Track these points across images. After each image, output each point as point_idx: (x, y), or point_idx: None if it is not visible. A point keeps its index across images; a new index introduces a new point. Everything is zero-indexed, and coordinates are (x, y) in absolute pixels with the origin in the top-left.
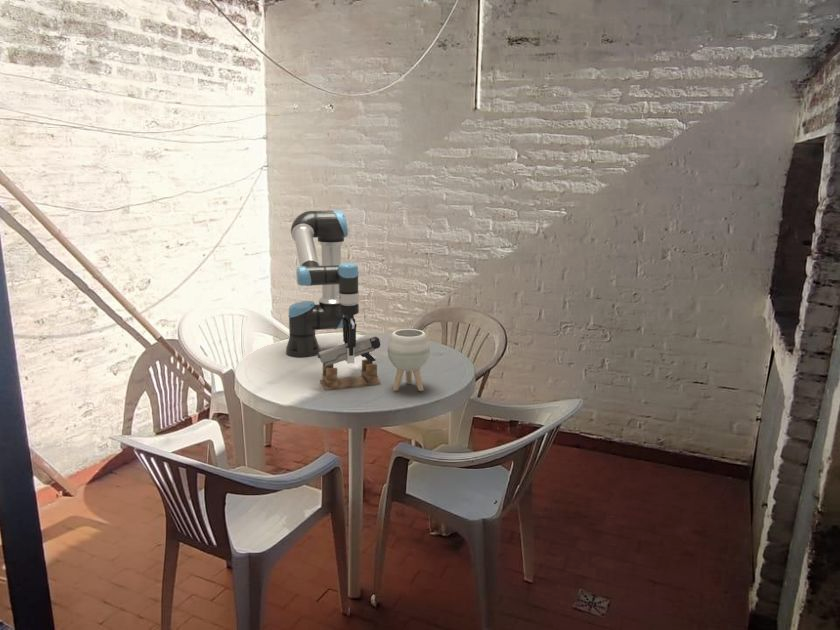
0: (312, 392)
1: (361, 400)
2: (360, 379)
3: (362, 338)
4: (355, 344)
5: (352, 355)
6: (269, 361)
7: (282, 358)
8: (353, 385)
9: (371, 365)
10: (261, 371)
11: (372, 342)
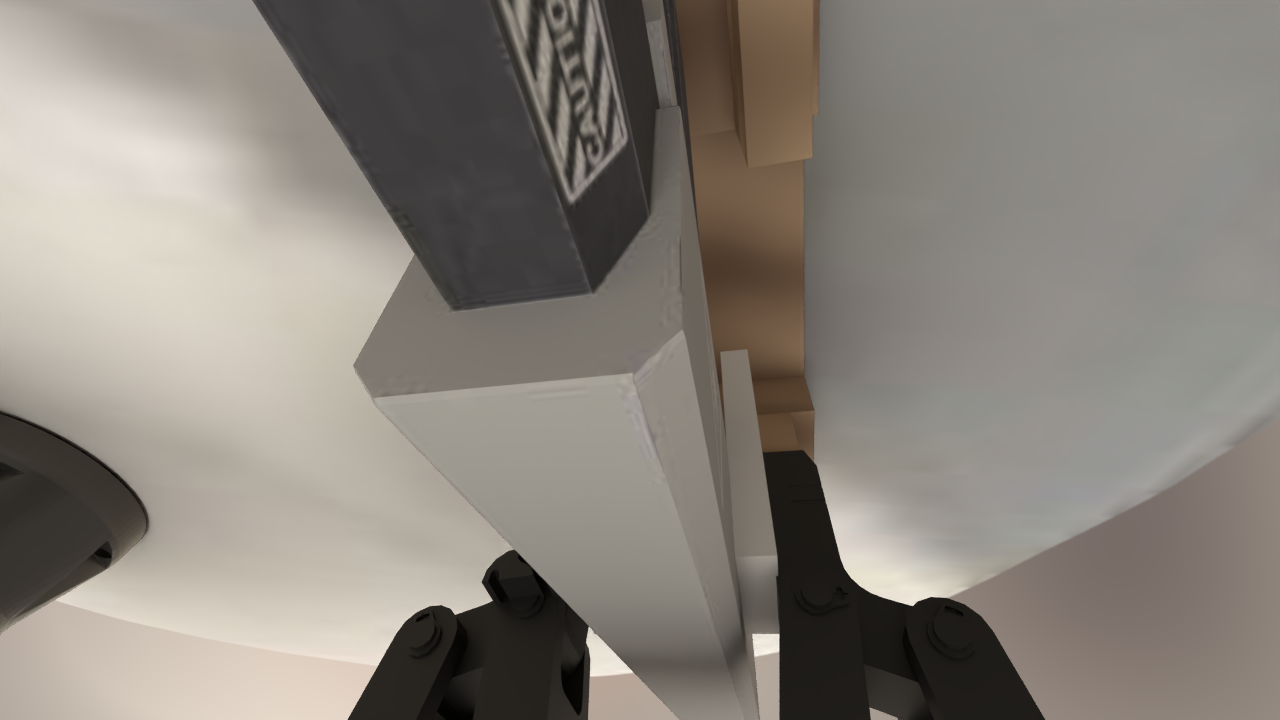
0: None
1: (1190, 214)
2: None
3: (536, 538)
4: (1013, 677)
5: (807, 463)
6: (271, 603)
7: (199, 563)
8: (802, 255)
9: (810, 74)
10: None
11: (629, 93)
